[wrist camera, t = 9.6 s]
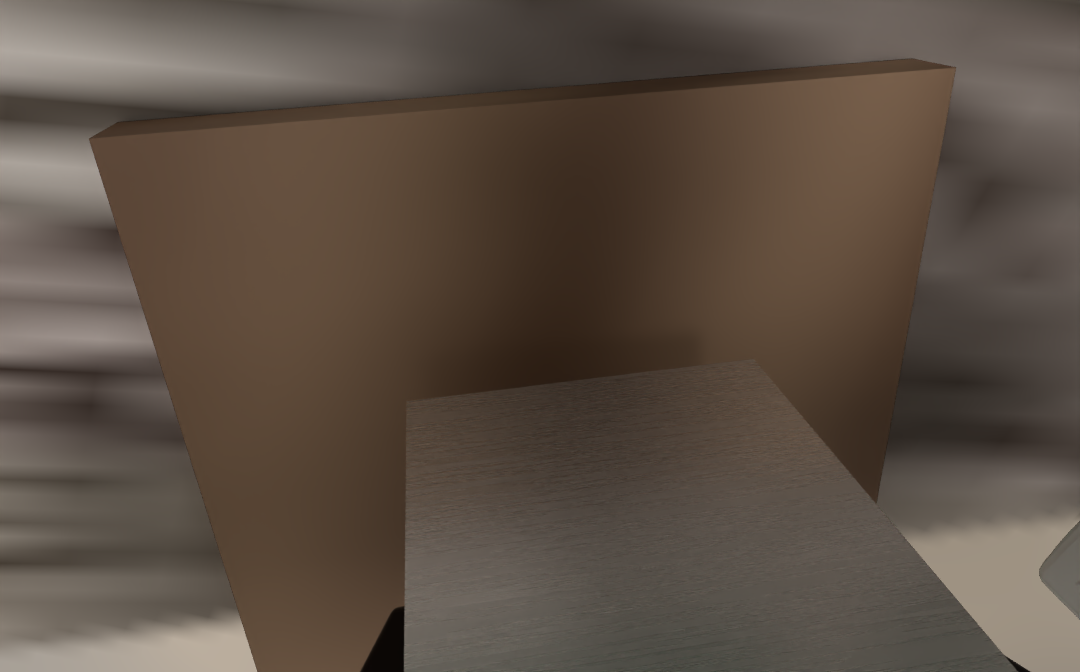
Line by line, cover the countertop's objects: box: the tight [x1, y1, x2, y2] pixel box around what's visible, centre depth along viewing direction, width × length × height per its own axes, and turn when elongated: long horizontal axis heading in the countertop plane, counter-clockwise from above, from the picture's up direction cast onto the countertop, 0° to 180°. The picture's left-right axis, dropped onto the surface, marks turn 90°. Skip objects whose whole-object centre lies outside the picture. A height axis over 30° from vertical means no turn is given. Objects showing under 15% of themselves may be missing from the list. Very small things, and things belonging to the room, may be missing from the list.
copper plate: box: [89, 59, 956, 672], centre depth 13 cm, size 11×11×1 cm
